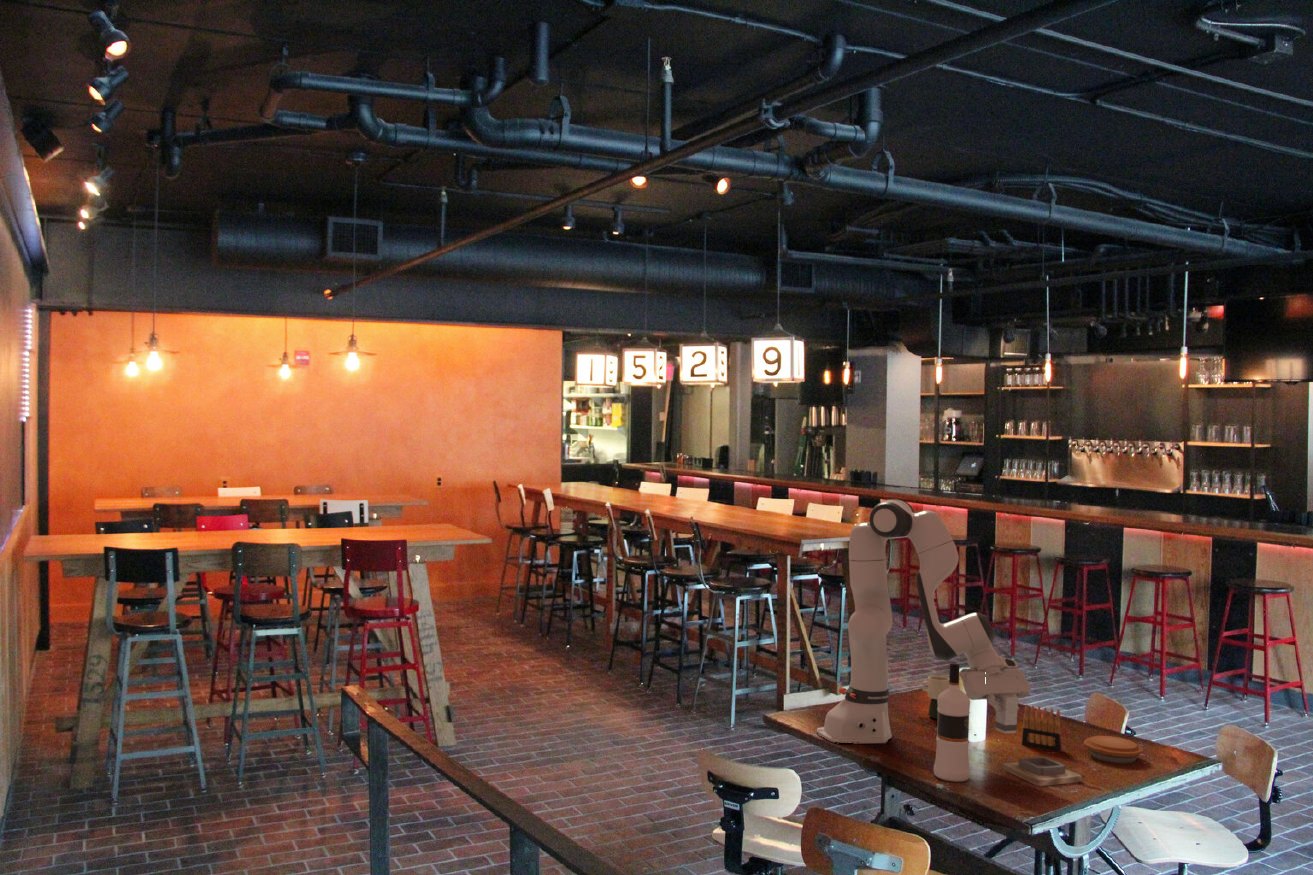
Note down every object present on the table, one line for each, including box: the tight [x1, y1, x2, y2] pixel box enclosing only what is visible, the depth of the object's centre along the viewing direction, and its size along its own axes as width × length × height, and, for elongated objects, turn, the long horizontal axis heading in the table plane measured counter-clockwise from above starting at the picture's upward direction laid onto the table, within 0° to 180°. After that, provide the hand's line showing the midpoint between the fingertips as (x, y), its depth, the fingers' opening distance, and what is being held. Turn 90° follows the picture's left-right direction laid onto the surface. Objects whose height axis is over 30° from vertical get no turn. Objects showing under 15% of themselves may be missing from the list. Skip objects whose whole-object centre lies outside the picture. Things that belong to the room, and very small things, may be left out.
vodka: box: [933, 662, 971, 783], centre depth 264 cm, size 9×9×30 cm
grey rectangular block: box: [994, 694, 1019, 735], centre depth 281 cm, size 4×4×10 cm
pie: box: [1083, 735, 1144, 765], centre depth 285 cm, size 15×16×5 cm
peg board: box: [1002, 755, 1083, 787], centre depth 267 cm, size 14×14×4 cm
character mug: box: [921, 675, 949, 720], centre depth 322 cm, size 11×7×13 cm, turn 57°
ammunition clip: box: [1021, 704, 1062, 752], centre depth 293 cm, size 11×2×12 cm, turn 58°
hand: (1008, 710), depth 280 cm, fingers closed on grey rectangular block, 4 cm apart
